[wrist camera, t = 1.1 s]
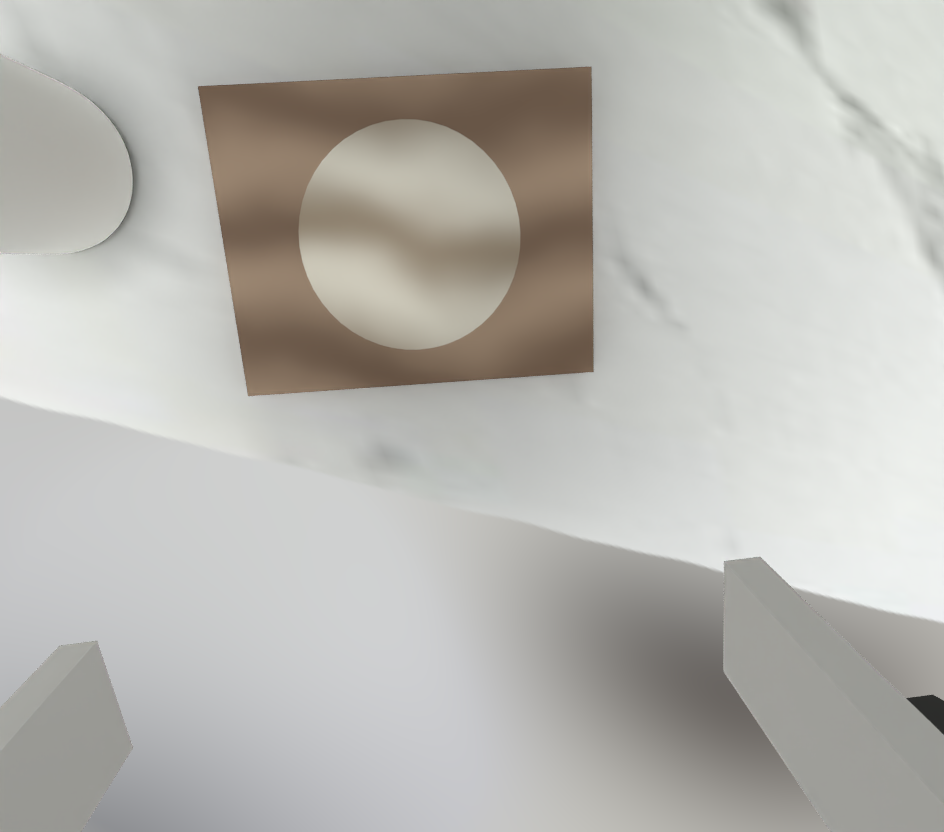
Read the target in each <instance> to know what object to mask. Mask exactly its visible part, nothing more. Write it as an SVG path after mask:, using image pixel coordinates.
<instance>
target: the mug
mask: <svg viewBox="0 0 944 832" xmlns="http://www.w3.org/2000/svg"><path fill="white" fill-rule="evenodd" d="M132 189H133V175H132V167H131V162H130V158H129V154H128V152H127V149H126V147H125V144H124V142H123V140H122V138H121V136H120V134H119V132H118V131H117V129H116V128H115V126H114V125H113V123H112V122H111V121H110V120H109V118H108V117H107V116H106V115H105V114H104V113H103V112H102V111H101V110H100V109H99V108H98V107H97V106H96V105H95V104H94V103H93V102H91V101H90V100H89V99H88V98H86V97H85V96H84V95H82V94H81V93H79V92H77V91H76V90H74V89H72V88H71V87H69V86H67V85H65V84H63V83H61V82H59V81H57V80H55V79H53V78H51V77H49V76H47V75H45V74H42V73H40V72H38V71H36V70H34V69H32V68H30V67H28V66H25V65H23V64H21V63H19V62H17V61H15V60H13V59H10V58H8V57H6V56H4V55H2V54H0V254H67V253H75V252H78V251H82V250H86V249H88V248H91V247H93V246H95V245H97V244H99V243H101V242H102V241H104V240H106V239H107V238H108V237H109V236H110V235H111V234H112V233H113V232H114V231H115V230H116V229H117V228H118V227H119V225H120V224H121V222H122V221H123V219H124V217H125V215H126V213H127V211H128V208H129V205H130V201H131V197H132Z"/></svg>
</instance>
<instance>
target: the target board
mask: <svg viewBox="0 0 944 832" xmlns="http://www.w3.org/2000/svg"><path fill="white" fill-rule="evenodd" d="M198 90H199V96H200V102H201V108H202V114H203V120H204V127H205V133H206V139H207V145H208V151H209V157H210V164H211V170H212V176H213V182H214V188H215V194H216V201H217V207H218V213H219V219H220V225H221V231H222V238H223V244H224V250H225V256H226V262H227V268H228V274H229V281H230V287H231V293H232V299H233V305H234V311H235V318H236V324H237V330H238V336H239V342H240V348H241V355H242V361H243V367H244V373H245V379H246V385H247V392H248V396H255V395H270V394H284V393H298V392H313V391H327V390H341V389H355V388H370V387H384V386H398V385H412V384H427V383H441V382H455V381H469V380H484V379H498V378H512V377H527V376H541V375H555V374H569V373H584V372H593V228H592V78H591V67H576V68H556V69H536V70H516V71H496V72H476V73H456V74H436V75H416V76H396V77H376V78H356V79H336V80H316V81H297V82H277V83H257V84H237V85H217V86H198Z"/></svg>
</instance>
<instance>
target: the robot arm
mask: <svg viewBox="0 0 944 832" xmlns="http://www.w3.org/2000/svg"><path fill="white" fill-rule="evenodd" d="M723 646H724V647H723V649H724V650H723V651H724V653H723V671H724V673H725V674H726V676H727V677H728V679H729V680H730V682H731V683H732V685H733V686H734V688H735V689H736V691H737V692H738V694H739V695H740V697H741V698H742V700H743V701H744V703H745V704H746V706H747V707H748V709H749V710H750V712H751V713H752V715H753V716H754V718H755V719H756V721H757V722H758V724H759V725H760V727H761V728H762V730H763V731H764V733H765V734H766V736H767V737H768V739H769V740H770V742H771V743H772V745H773V746H774V748H775V749H776V751H777V752H778V754H779V755H780V757H781V758H782V760H783V761H784V763H785V764H786V766H787V767H788V769H789V770H790V772H791V773H792V775H793V776H794V778H795V779H796V781H797V782H798V784H799V785H800V787H801V788H802V790H803V791H804V793H805V794H806V796H807V797H808V799H809V800H810V802H811V803H812V805H813V806H814V808H815V809H816V811H817V812H818V814H819V815H820V817H821V818H822V820H823V821H824V823H825V824H826V826H827V827H828V829H829V830H830V832H944V701H943V700H941V699H940V698H938V697H936V696H934V695H927V696H921V697H912V698H905V697H904V696H903V695H902V694H901V693H900V692H899V691H898V690H897V689H896V688H895V687H894V686H893V685H892V684H891V683H890V682H889V681H887V680H886V679H885V678H884V677H883V676H882V675H881V674H880V673H879V672H878V671H877V670H876V669H875V668H874V667H873V666H872V665H871V664H870V663H869V662H868V661H867V660H866V659H865V658H864V657H863V656H862V655H861V654H860V653H859V652H858V651H857V650H856V649H855V648H854V647H853V646H852V645H850V644H849V643H848V642H847V641H846V640H845V639H844V638H843V637H842V636H841V635H840V634H839V633H838V632H837V631H836V630H835V629H834V628H833V627H832V626H831V625H830V624H829V623H828V622H827V621H826V620H825V619H823V617H822V616H820V615H819V614H818V613H817V612H816V611H815V610H814V609H813V608H812V607H811V606H810V605H809V604H808V603H807V602H806V601H805V600H804V599H803V598H802V597H801V596H800V595H799V594H798V593H797V592H796V591H795V590H794V589H793V588H792V587H791V586H790V585H789V584H788V583H786V582H785V581H784V580H783V579H782V578H781V577H780V576H779V575H778V574H777V573H776V572H775V571H774V570H773V569H772V568H771V567H770V566H769V565H768V564H767V563H766V562H765V561H764V560H763V559H762V558H761V557H755V558H747V559H739V560H731V561H724V644H723ZM132 749H133V746H132V744H131V740H130V737H129V734H128V731H127V728H126V726H125V723H124V719H123V717H122V714H121V710H120V708H119V705H118V702H117V699H116V696H115V693H114V690H113V687H112V684H111V681H110V678H109V675H108V672H107V669H106V666H105V663H104V660H103V657H102V654H101V651H100V648H99V645H98V642H97V641H92V642H84V643H77V644H70V645H61V646H59V647H58V648H57V649H56V650H55V651H54V652H53V653H52V654H51V655H50V656H49V657H48V659H47V660H46V661H45V662H44V663H43V664H42V665H41V666H40V667H39V668H38V669H37V670H36V671H35V672H34V673H33V674H32V675H31V676H30V677H29V678H28V679H27V680H26V681H25V682H24V684H23V685H22V686H21V687H20V688H19V689H18V690H17V691H16V692H15V693H14V694H13V695H12V696H11V697H10V698H9V699H8V700H7V701H6V702H5V703H4V704H3V705H2V706H1V708H0V832H81V831H82V830H83V828H84V826H85V825H86V823H87V822H88V820H89V818H90V817H91V815H92V814H93V812H94V810H95V809H96V807H97V805H98V804H99V802H100V801H101V799H102V797H103V796H104V794H105V792H106V791H107V789H108V788H109V786H110V784H111V783H112V781H113V779H114V778H115V776H116V775H117V773H118V771H119V770H120V768H121V766H122V765H123V763H124V762H125V760H126V758H127V757H128V755H129V754H130V752H131V750H132Z"/></svg>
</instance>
